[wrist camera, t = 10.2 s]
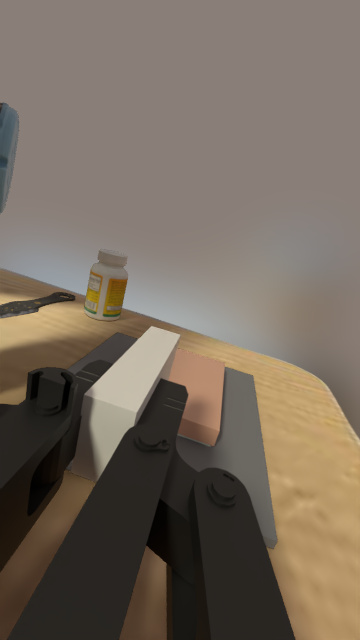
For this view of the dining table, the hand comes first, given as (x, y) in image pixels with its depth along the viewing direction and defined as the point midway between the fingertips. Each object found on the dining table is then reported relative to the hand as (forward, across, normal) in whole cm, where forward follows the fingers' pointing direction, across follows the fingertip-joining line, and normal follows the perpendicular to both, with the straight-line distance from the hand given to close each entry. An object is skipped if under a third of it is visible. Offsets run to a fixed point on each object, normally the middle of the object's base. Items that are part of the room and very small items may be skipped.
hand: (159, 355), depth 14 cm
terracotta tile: (+5, 0, -7) cm, 9 cm away
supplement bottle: (+26, -14, -9) cm, 31 cm away
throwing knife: (+20, -23, -9) cm, 32 cm away
